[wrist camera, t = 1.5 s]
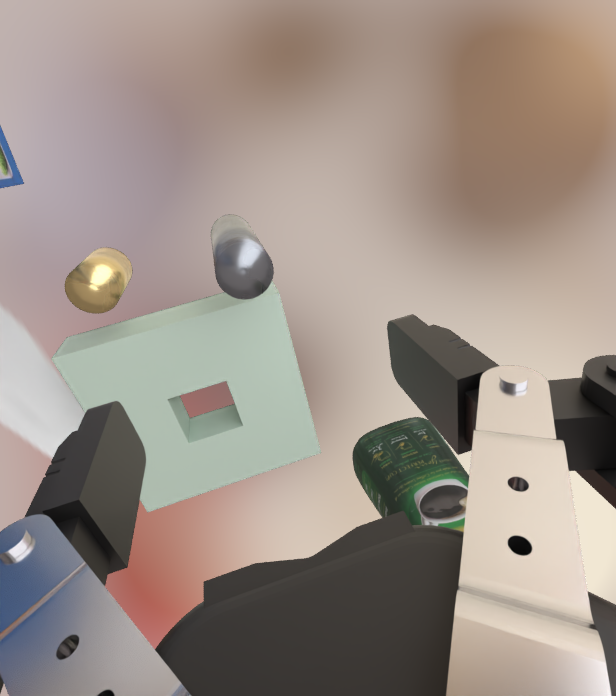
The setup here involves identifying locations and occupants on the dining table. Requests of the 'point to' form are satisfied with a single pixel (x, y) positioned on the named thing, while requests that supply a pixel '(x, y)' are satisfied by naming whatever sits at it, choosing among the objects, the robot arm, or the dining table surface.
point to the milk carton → (8, 165)
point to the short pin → (99, 280)
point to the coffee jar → (412, 473)
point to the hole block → (193, 374)
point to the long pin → (240, 258)
